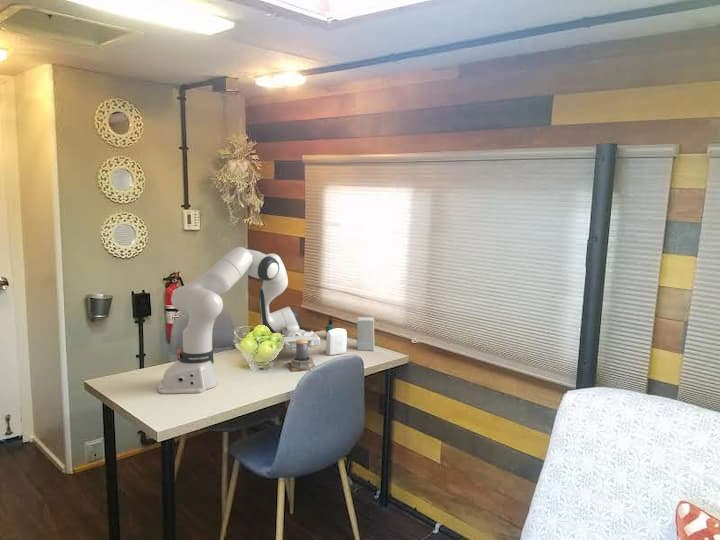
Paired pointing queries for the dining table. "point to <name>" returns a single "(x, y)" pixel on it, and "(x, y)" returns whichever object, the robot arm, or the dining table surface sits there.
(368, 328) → the skincare box
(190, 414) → the dining table surface
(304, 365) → the ring socket
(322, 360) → the dining table surface
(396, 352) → the dining table surface
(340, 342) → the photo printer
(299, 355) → the charcoal canister
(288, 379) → the dining table surface
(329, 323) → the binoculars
